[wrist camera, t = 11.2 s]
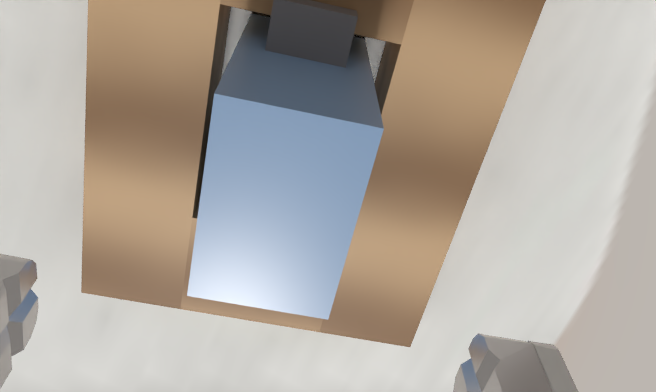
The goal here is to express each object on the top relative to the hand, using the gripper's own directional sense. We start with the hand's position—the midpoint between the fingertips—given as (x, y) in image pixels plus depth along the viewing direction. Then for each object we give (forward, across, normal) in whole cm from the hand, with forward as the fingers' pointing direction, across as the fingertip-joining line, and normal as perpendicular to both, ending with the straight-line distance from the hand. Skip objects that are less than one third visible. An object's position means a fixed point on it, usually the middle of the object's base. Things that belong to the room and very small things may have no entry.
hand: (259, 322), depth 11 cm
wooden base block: (+12, 0, +1) cm, 12 cm away
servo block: (+12, 0, +1) cm, 13 cm away
